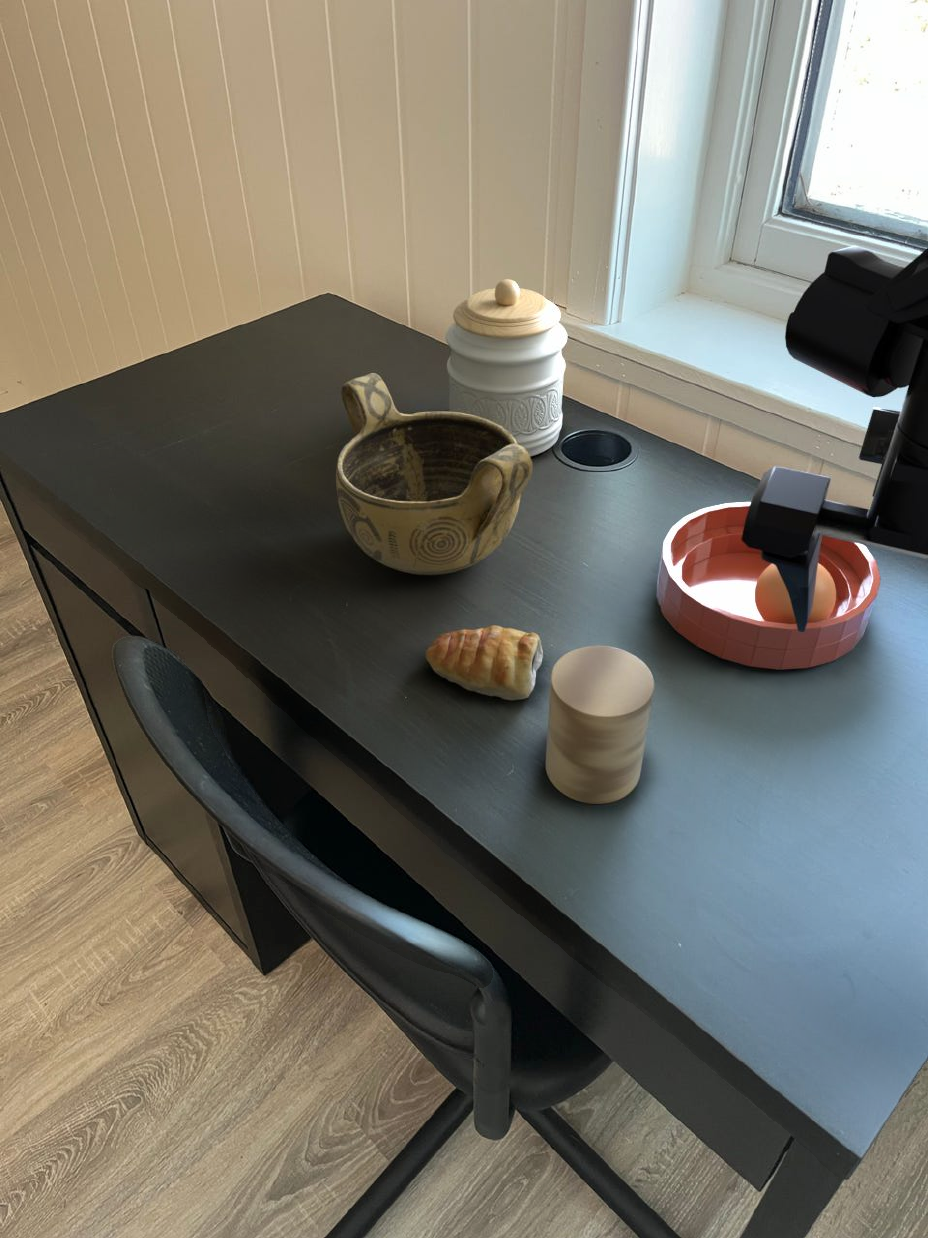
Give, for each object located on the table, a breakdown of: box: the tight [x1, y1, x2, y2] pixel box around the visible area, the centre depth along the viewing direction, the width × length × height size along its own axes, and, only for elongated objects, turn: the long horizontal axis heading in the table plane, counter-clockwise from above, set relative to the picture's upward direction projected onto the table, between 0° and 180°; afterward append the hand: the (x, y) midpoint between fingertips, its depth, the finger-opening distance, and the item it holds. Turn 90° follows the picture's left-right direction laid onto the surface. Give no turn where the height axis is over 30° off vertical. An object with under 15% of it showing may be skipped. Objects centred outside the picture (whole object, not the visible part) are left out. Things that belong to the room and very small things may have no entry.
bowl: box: [656, 501, 881, 671], centre depth 83 cm, size 18×18×5 cm
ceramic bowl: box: [335, 372, 534, 576], centre depth 86 cm, size 22×17×15 cm
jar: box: [445, 278, 568, 457], centre depth 103 cm, size 13×13×18 cm
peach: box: [754, 563, 836, 624], centre depth 78 cm, size 6×6×8 cm
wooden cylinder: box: [545, 645, 655, 805], centre depth 67 cm, size 7×7×9 cm
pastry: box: [425, 624, 544, 701], centre depth 77 cm, size 9×7×4 cm
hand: (875, 647), depth 60 cm, fingers open, 9 cm apart
